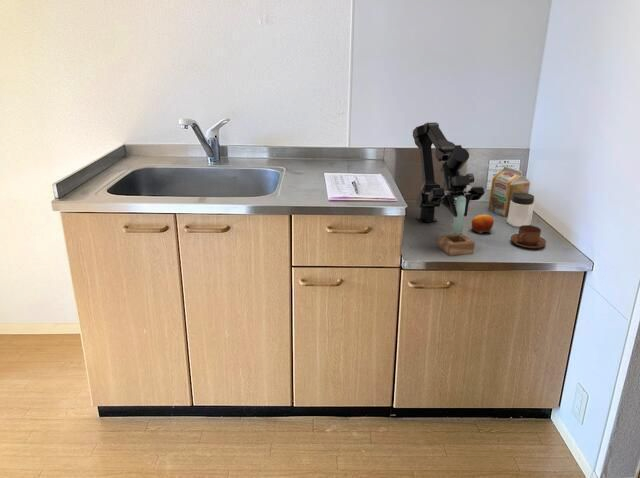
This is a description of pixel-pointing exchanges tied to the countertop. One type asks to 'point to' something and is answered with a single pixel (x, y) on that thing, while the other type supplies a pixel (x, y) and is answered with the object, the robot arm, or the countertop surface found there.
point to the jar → (521, 209)
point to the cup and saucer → (528, 237)
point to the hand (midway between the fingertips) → (460, 216)
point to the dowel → (459, 215)
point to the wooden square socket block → (456, 244)
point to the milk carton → (506, 189)
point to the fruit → (482, 223)
